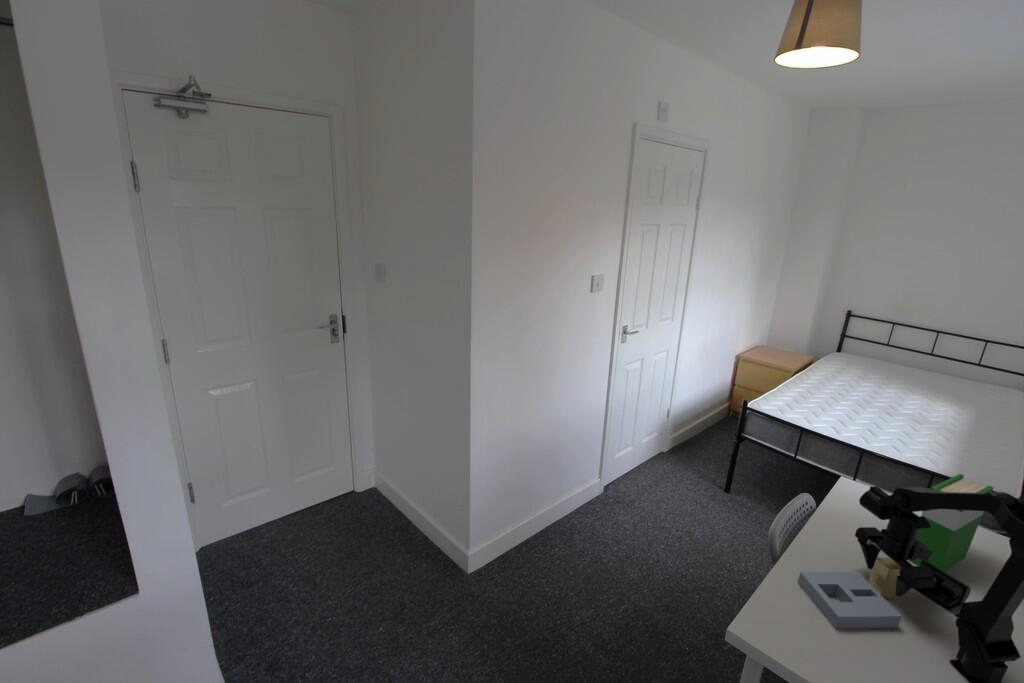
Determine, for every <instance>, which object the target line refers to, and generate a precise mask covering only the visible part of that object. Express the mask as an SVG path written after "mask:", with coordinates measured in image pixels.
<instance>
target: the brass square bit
mask: <svg viewBox="0 0 1024 683" xmlns="http://www.w3.org/2000/svg"><path fill="white" fill-rule="evenodd" d="M901 568H902V567H901V566H900V565H898V564H897V563H896V562H895V561H894V560H893V559H891V558H889V557H877V558H876V561H875V564H874V567H873V569H871V573H870V576H869V579H868V581H867V582H868V583H869V584H870V585H871V586H872V587H873V588H874V589H875V590H876V591H877V592H878V593H879V594H880V595H881V596H882V597H883V598H894V597H895V596H896V583H897V576H900V573H899V572H900V569H901Z"/></svg>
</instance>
